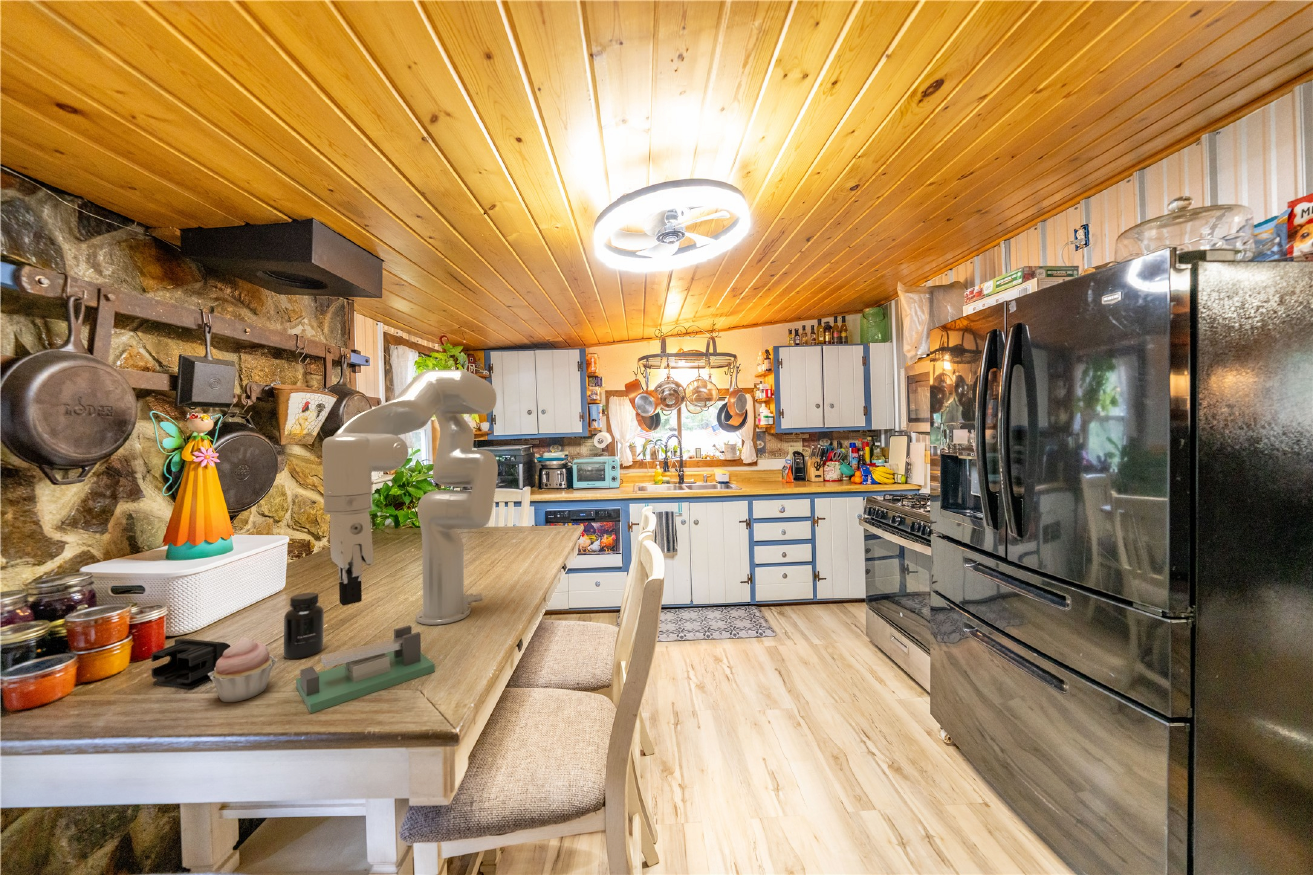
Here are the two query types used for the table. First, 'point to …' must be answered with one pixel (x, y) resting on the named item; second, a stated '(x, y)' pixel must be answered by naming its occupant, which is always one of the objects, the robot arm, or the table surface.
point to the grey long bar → (361, 652)
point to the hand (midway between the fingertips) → (350, 602)
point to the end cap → (187, 663)
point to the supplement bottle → (303, 626)
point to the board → (365, 674)
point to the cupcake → (242, 671)
